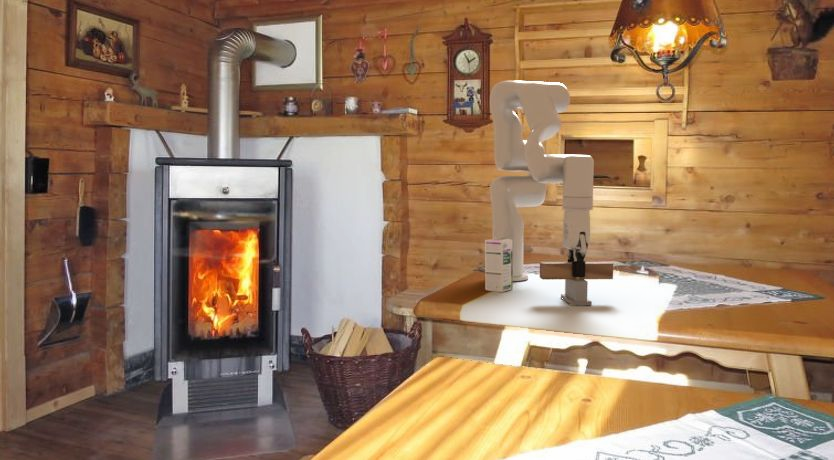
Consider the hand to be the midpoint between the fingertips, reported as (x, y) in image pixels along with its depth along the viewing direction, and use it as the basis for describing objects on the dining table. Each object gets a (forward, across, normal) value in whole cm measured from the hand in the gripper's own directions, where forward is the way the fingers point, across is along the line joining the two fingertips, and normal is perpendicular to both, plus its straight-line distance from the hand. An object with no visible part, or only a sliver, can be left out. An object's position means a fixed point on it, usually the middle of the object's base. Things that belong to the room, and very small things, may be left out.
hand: (576, 274), depth 181 cm
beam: (+1, 0, 0) cm, 1 cm away
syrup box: (+7, -18, -17) cm, 26 cm away
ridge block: (+7, 0, 0) cm, 7 cm away
